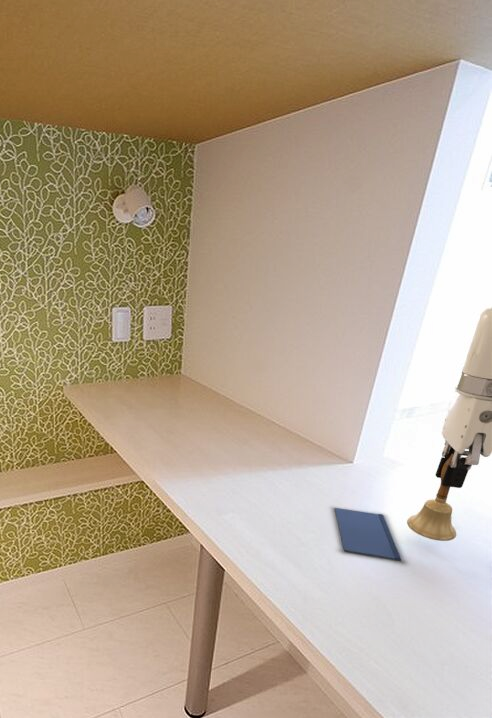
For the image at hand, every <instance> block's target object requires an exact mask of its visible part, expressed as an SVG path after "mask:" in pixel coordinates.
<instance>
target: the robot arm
mask: <svg viewBox="0 0 492 718" xmlns="http://www.w3.org/2000/svg"><path fill="white" fill-rule="evenodd" d="M453 391H454V392H455V395H454V397H453V399H452V402H451V404H450V406H449V409H448V411H447V414H446V416H445V418H444V422H443V425H442V429H441V435H442V438H443V439H444V441H445V442H444V447H443V449H442V452H441V456H442V457H441V458H440V460H439V464H438V465H437V469H436V472H435V477H436V478H438V479H441V472H442V468H443V466H444V464H445V462H446V461H447V460H448V459H449V457H450V456H451V454H453V453H454V455H453V458H452V461H451V465H448V466H447V468H446V471H445V474H444V477H443V479H442V482H441V481H440V485H441V484H442V485H443V486H448V487H450V488H457V489H461V488H463V486H464V483H465V480H466V478H467V476H468V473H469V471H470V470H471V468H472V466H478V465H479V463H480V459H481V456H482V457H484V458H487V457H490V456H491V455H492V307H488V308H486V309H484V310H482V311H481V313H480V314H479V317H478V319H477V321H476V324H475V328H474V330H473V333H472V336H471V338H470V343H469V345H468V348H467V350H466V353H465V357H464V360H463V363H462V366H461V368H460V371H459V374H458V377H457V380H456V383H455V386H454V389H453ZM459 458H460V459H459Z"/></svg>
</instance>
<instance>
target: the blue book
mask: <svg viewBox="0 0 492 718" xmlns="http://www.w3.org/2000/svg"><path fill="white" fill-rule="evenodd" d="M334 512H335V516H336V521H337V525H338V530H339V534H340V539H341V543H342V547H343V551H344V552H347V553H353V554H360V555H366V556H372V557H377V558H384V559H389V560H395V561H401V562H402V558H401V555H400V553H399V551H398V548H397V546H396V542H395V540H394V538H393V536H392V533H391V531H390V528H389V526H388V523H387V520H386V518H385V516H384V514H383V513H374V512H373V513H372V512H367V511H366V512H365V511H359V510H353V509H346V508H338V507H334Z"/></svg>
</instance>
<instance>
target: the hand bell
mask: <svg viewBox="0 0 492 718" xmlns="http://www.w3.org/2000/svg"><path fill="white" fill-rule="evenodd" d="M453 455H454V453H453V454H451V456H450V457H449V459H448V460H447V461H446V462H445V464H444V466H443V468H442V472H441V478H440V484H439V485H440V486H439V488H438V491H437V493H436V496H435V499H428V500H426V501H425V502H424V504H423V505H422V508H421V510H420V511H419V512H417V514H414V515H412V516H411V515H410V517H409V518H408V519H407V520H406V525H407V526H408V528H409V529H410V530H411V531H413V532H414V533H415V534H417V535H419V536H421V537H424V538H427V539H429V540H433V541H439V542H448V541H452V540H454V539H455V538H456V537H457V530H456V529H455V526H453V523H452V513H453V507H452V506H451V505H450V504H449V503H448V502H447V501H448V500H447V499H448V496H449V493H450V489H451V487H448V486H443V485H442V484H441V482H442V479H443V477H444V474H445V471H446V468H447V466H448V465H451V461H452V458H453ZM459 459H460V458H459Z"/></svg>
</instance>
